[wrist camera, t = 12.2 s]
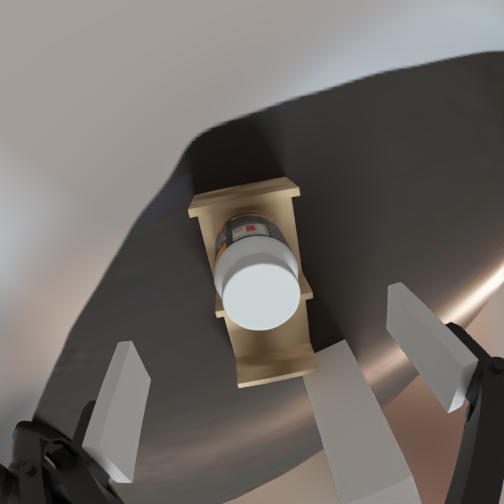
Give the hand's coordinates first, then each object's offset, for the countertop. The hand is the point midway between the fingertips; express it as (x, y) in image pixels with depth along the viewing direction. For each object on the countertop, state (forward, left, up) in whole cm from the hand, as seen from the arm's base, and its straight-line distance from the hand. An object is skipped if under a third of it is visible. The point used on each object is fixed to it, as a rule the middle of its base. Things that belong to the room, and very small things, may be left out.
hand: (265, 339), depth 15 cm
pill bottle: (0, 0, -14) cm, 14 cm away
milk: (+7, -18, -15) cm, 24 cm away
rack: (0, -4, -15) cm, 15 cm away
